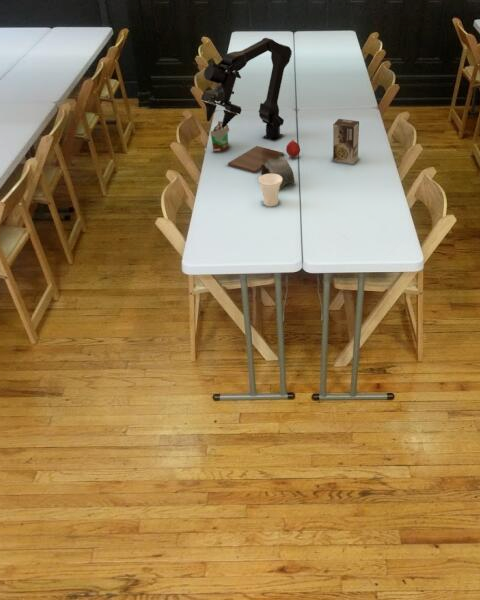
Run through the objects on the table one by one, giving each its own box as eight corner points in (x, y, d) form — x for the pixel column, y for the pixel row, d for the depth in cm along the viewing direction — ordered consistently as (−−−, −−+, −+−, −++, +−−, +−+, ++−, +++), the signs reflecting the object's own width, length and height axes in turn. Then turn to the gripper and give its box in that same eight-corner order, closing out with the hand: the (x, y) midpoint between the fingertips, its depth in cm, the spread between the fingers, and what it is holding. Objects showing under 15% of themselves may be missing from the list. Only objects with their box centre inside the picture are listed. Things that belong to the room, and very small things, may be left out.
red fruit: (285, 155, 266) (285, 137, 261) (299, 154, 266) (299, 136, 261) (287, 161, 261) (286, 142, 256) (300, 160, 261) (300, 142, 257)
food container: (226, 154, 268) (224, 132, 262) (212, 153, 269) (210, 131, 263) (234, 143, 277) (232, 121, 271) (220, 142, 279) (218, 120, 273)
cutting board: (256, 148, 272) (256, 145, 272) (283, 155, 266) (283, 152, 265) (228, 165, 259) (228, 162, 258) (255, 173, 253) (255, 170, 252)
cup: (275, 210, 227) (274, 185, 221) (254, 204, 232) (253, 180, 226) (288, 200, 233) (288, 176, 227) (268, 195, 237) (266, 170, 231)
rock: (257, 173, 252) (256, 155, 248) (284, 169, 255) (283, 151, 250) (268, 193, 238) (267, 174, 234) (297, 189, 241) (296, 170, 236)
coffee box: (358, 158, 261) (359, 121, 251) (353, 164, 256) (354, 126, 247) (338, 155, 264) (338, 118, 254) (332, 161, 260) (332, 123, 250)
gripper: (196, 75, 252) (186, 114, 256) (228, 87, 242) (216, 127, 246) (216, 82, 261) (205, 119, 265) (247, 94, 251) (235, 132, 255)
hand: (215, 124), depth 258 cm, fingers open, 9 cm apart
